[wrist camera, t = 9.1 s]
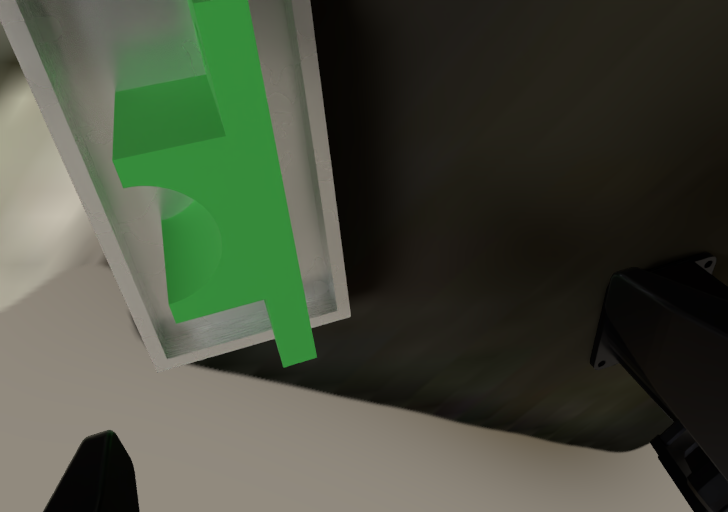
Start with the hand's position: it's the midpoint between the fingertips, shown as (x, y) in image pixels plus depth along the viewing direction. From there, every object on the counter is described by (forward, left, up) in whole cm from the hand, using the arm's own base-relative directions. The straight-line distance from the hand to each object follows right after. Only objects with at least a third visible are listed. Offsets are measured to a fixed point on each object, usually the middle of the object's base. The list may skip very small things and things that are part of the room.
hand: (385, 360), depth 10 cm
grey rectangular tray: (-1, +2, -12) cm, 12 cm away
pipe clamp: (-1, +2, -11) cm, 12 cm away
